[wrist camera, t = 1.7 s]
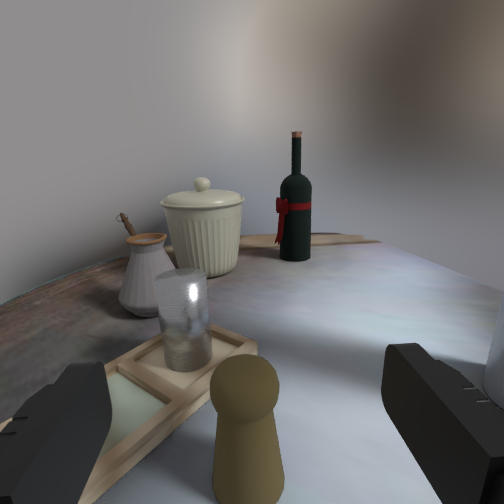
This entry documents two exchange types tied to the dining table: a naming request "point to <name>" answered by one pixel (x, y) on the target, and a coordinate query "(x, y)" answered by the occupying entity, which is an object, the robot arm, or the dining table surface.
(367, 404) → the dining table surface
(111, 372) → the wooden tray
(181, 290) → the clear glass tumbler
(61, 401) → the robot arm
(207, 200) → the canister
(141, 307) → the coffee pot
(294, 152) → the wine bottle
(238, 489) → the olive brown pepper mill
